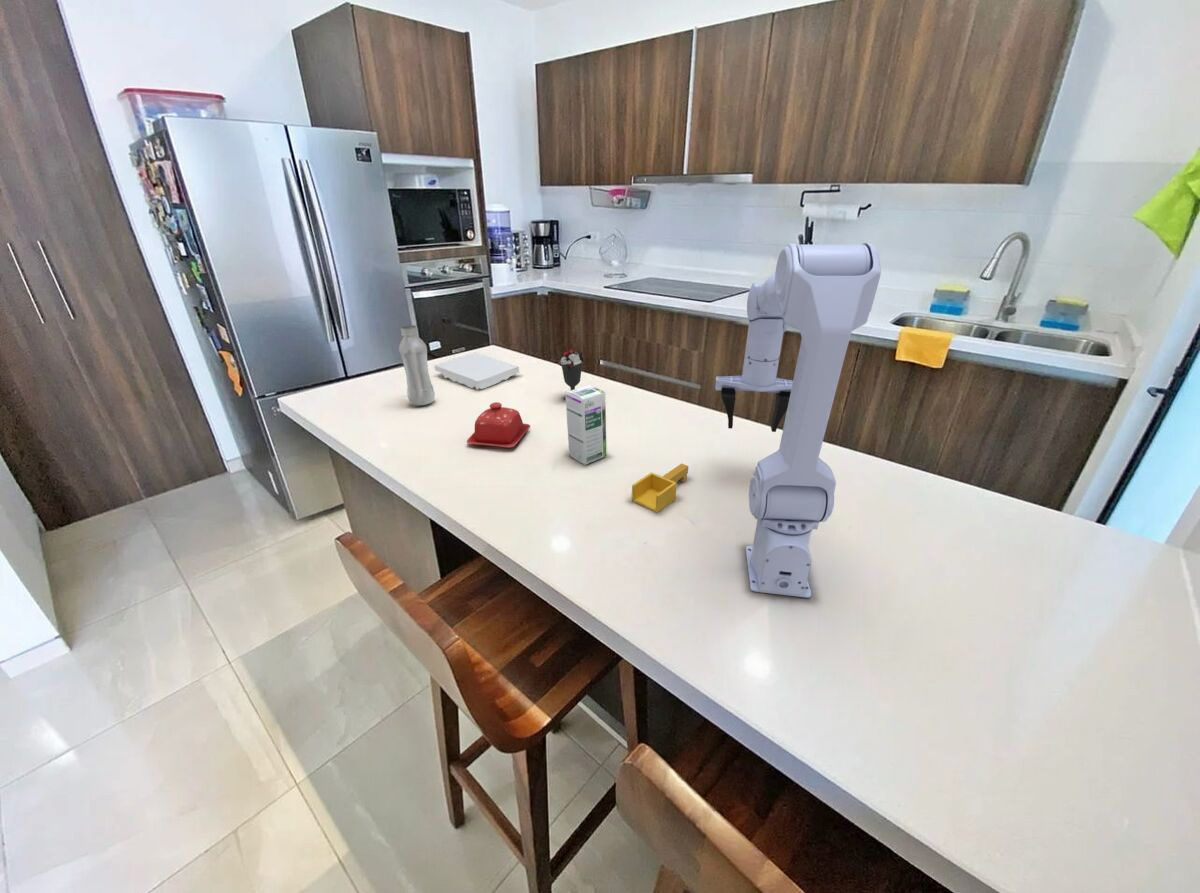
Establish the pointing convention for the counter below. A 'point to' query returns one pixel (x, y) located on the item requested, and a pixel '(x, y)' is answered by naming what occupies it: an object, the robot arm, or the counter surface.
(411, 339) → the plastic bottle
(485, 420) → the butter dish
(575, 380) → the sundae
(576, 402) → the syrup box
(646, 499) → the scoop
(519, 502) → the counter surface
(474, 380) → the food packaging
